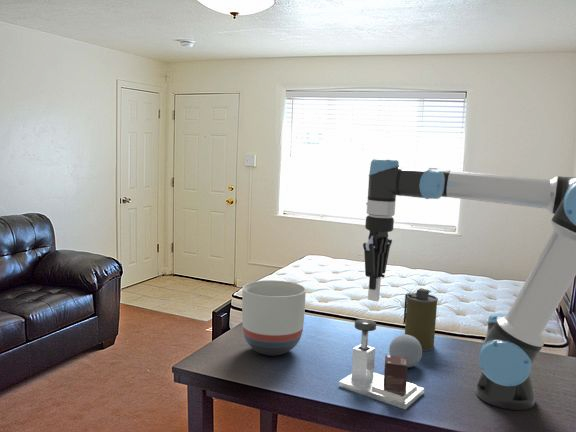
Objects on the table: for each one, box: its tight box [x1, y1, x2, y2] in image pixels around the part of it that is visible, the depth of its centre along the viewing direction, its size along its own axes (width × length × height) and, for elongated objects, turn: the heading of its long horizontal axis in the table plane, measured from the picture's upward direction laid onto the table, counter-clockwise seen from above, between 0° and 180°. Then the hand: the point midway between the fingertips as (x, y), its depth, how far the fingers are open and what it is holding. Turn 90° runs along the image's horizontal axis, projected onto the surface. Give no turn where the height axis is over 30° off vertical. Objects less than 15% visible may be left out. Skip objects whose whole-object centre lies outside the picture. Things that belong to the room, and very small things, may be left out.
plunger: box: [354, 318, 377, 351], centre depth 145 cm, size 6×6×13 cm
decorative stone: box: [388, 333, 423, 368], centre depth 159 cm, size 10×10×10 cm
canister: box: [403, 287, 439, 352], centre depth 177 cm, size 11×10×20 cm
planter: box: [241, 279, 307, 356], centre depth 166 cm, size 20×20×21 cm
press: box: [338, 343, 425, 410], centre depth 142 cm, size 20×12×10 cm, turn 53°
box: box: [383, 354, 409, 391], centre depth 139 cm, size 6×6×7 cm
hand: (373, 299), depth 142 cm, fingers closed
